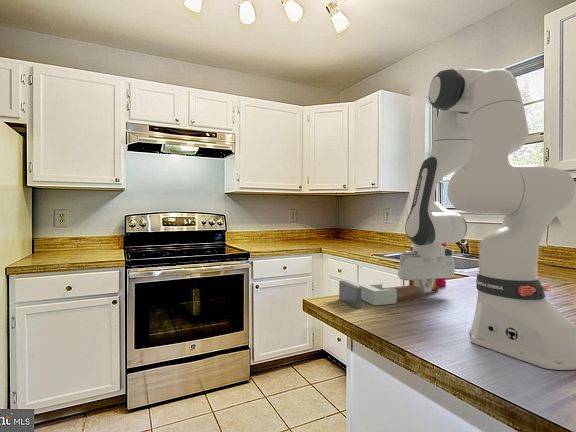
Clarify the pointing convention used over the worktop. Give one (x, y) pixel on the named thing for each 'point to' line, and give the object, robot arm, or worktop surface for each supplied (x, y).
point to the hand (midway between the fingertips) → (426, 292)
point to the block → (378, 294)
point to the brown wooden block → (407, 293)
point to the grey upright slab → (350, 294)
